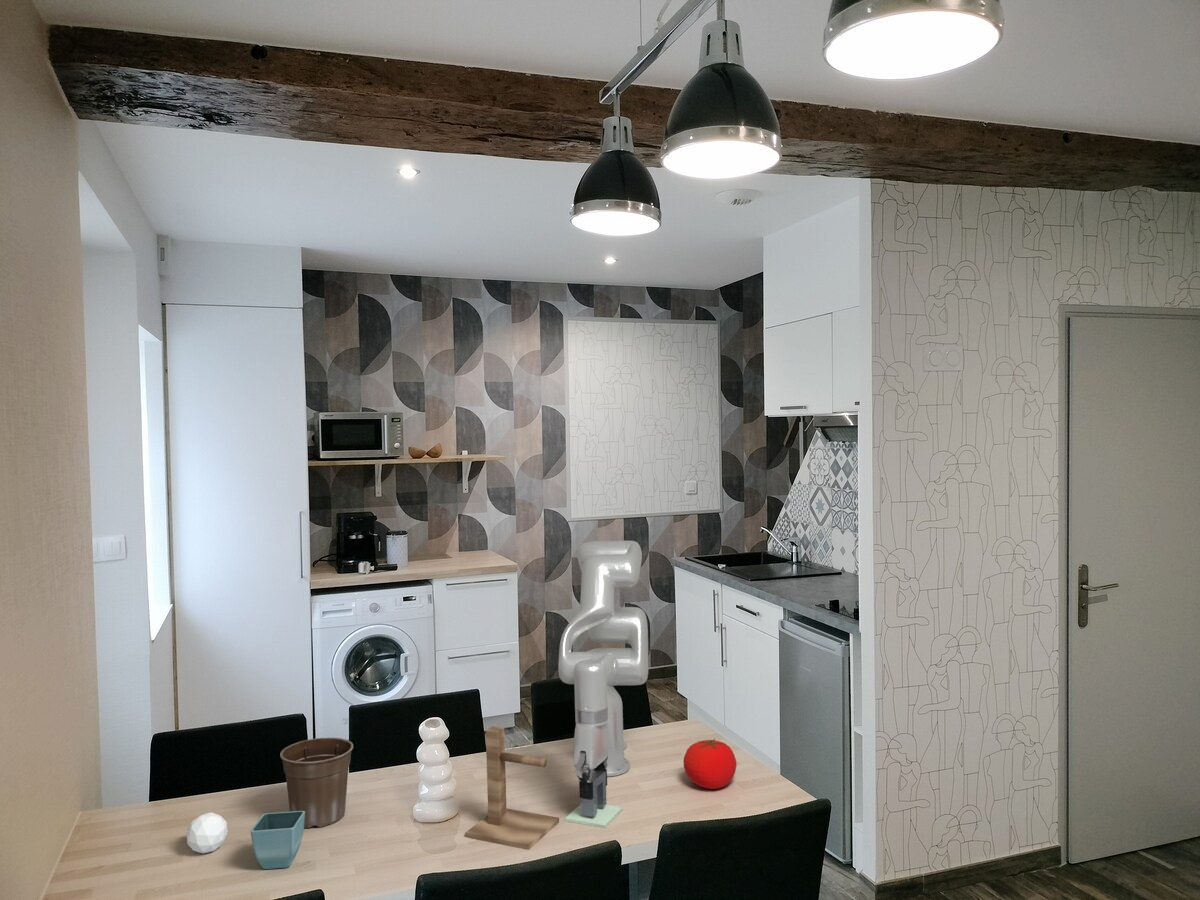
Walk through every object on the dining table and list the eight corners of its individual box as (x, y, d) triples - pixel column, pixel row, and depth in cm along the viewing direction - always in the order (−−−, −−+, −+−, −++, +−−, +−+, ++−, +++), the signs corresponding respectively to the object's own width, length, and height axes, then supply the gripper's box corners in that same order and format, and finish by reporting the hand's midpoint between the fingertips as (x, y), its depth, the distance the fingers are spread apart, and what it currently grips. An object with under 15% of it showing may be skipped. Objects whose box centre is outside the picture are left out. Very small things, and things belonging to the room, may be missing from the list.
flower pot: (264, 854, 178) (263, 812, 178) (306, 851, 178) (305, 809, 178) (250, 875, 169) (249, 831, 169) (295, 872, 170) (294, 828, 170)
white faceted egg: (192, 849, 173) (162, 842, 180) (224, 859, 178) (194, 852, 185) (210, 810, 177) (181, 804, 184) (241, 821, 183) (211, 815, 189)
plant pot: (369, 809, 199) (367, 741, 199) (320, 838, 184) (318, 765, 184) (317, 798, 206) (315, 733, 206) (266, 826, 191) (264, 756, 191)
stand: (498, 811, 196) (496, 717, 196) (561, 822, 189) (558, 725, 189) (465, 837, 183) (462, 737, 183) (531, 850, 176) (528, 746, 176)
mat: (584, 803, 199) (584, 800, 199) (622, 809, 195) (622, 807, 195) (565, 820, 190) (565, 818, 190) (605, 828, 186) (605, 825, 186)
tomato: (746, 786, 206) (745, 741, 206) (706, 799, 199) (705, 753, 199) (714, 771, 216) (713, 729, 216) (675, 784, 209) (674, 740, 209)
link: (594, 802, 196) (593, 769, 196) (606, 804, 195) (605, 771, 195) (582, 814, 190) (581, 780, 190) (593, 816, 188) (593, 782, 189)
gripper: (592, 702, 202) (594, 775, 202) (559, 725, 186) (562, 804, 186) (621, 705, 199) (623, 780, 199) (590, 728, 183) (592, 809, 183)
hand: (593, 791), depth 192 cm, fingers closed on link, 7 cm apart
